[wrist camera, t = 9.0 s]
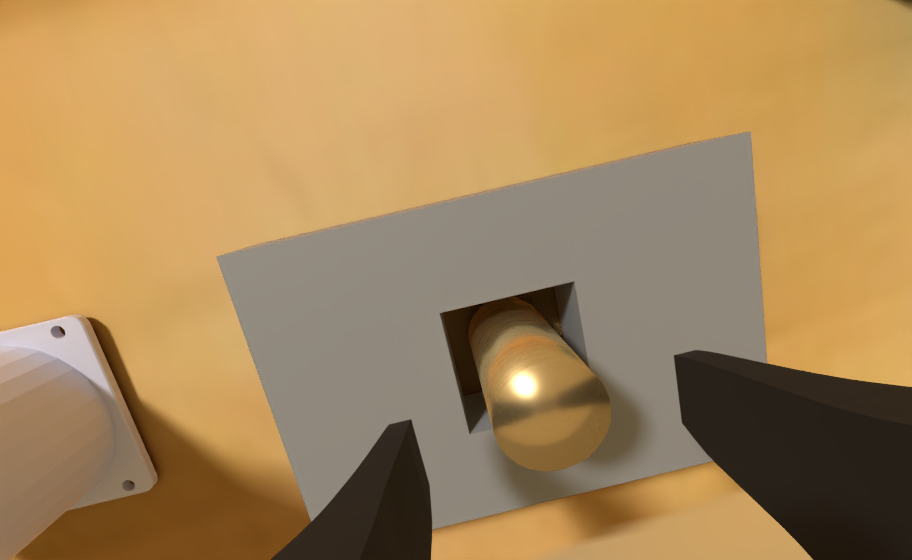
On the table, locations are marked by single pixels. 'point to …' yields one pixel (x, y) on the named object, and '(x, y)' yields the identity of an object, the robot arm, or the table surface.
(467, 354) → the table surface
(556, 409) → the brass pin
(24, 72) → the table surface
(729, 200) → the hole plate
